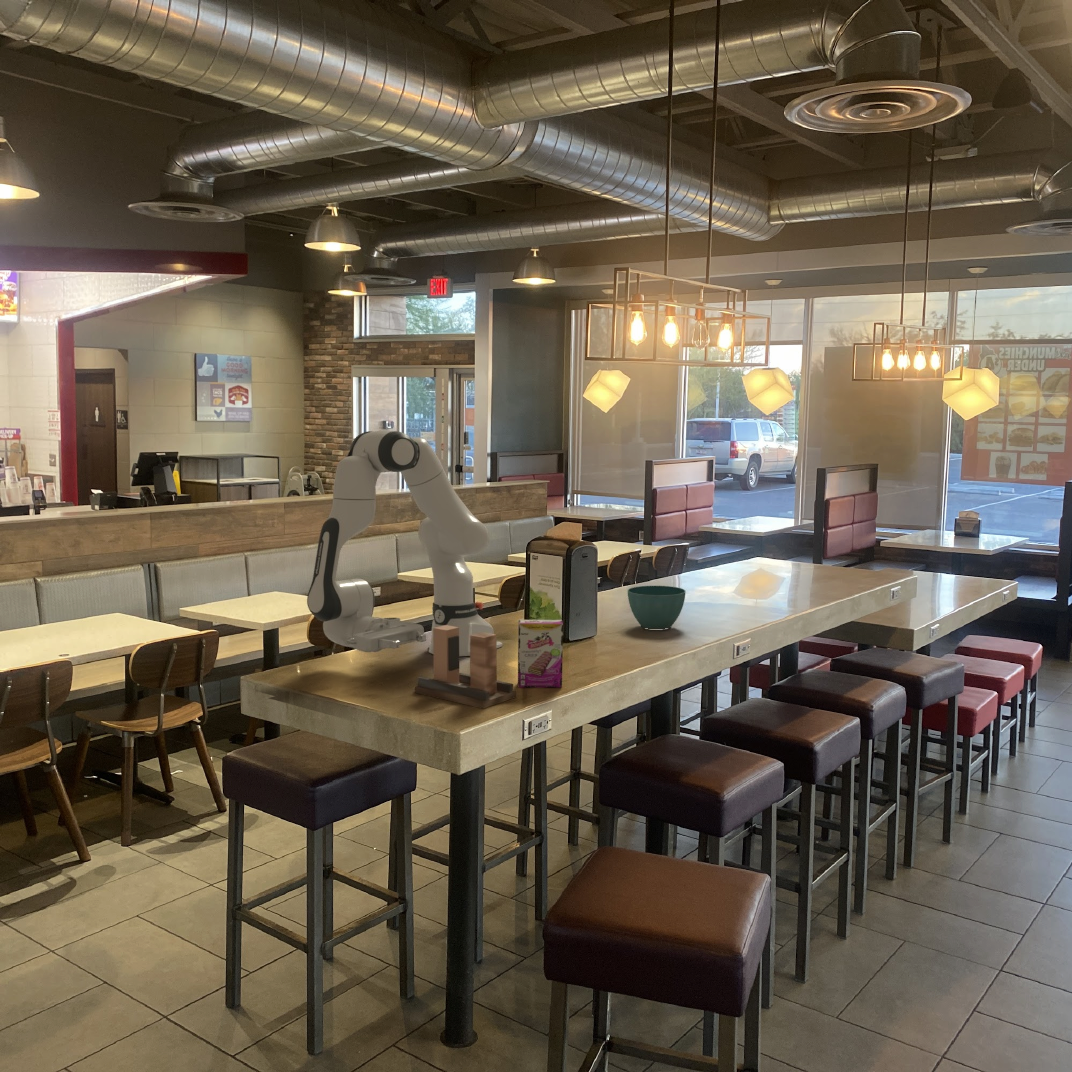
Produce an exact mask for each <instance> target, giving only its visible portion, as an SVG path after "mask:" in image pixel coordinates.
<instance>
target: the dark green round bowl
mask: <svg viewBox="0 0 1072 1072" xmlns="http://www.w3.org/2000/svg"><path fill="white" fill-rule="evenodd" d="M627 598H628V605H629V607H630V609H631V612H632V615H633V616H634V618H635V619H636V621H637V622H638V624H639V625H640V627H642V629H644V628H648V629H665V628H669V629H671V628H672V627H673V625H674V623H675V622H677V619H678V618H679V616H680V615H681V613H682V609H683V607H684V604H685V600H686V590H685V589H683V588H682V587H677V586H672V585H671V586H670V585H640V586H639V585H638V586H633V587H630V588H628V589H627Z"/></svg>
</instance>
